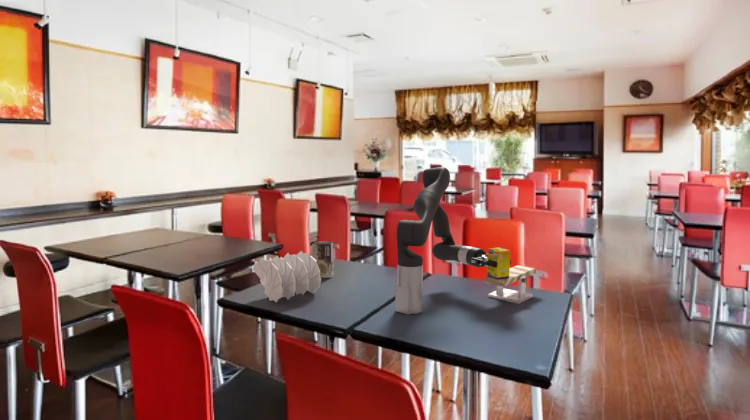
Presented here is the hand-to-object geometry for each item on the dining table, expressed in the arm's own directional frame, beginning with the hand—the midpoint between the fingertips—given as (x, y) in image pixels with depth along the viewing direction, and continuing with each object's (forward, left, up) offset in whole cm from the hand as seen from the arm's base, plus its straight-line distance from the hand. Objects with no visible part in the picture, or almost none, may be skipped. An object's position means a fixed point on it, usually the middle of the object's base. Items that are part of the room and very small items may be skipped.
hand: (503, 263), depth 177 cm
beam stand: (+11, +2, -16) cm, 19 cm away
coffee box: (-20, +81, -16) cm, 85 cm away
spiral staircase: (-50, +66, -16) cm, 85 cm away
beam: (+11, +2, -8) cm, 14 cm away
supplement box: (0, +2, -6) cm, 6 cm away
